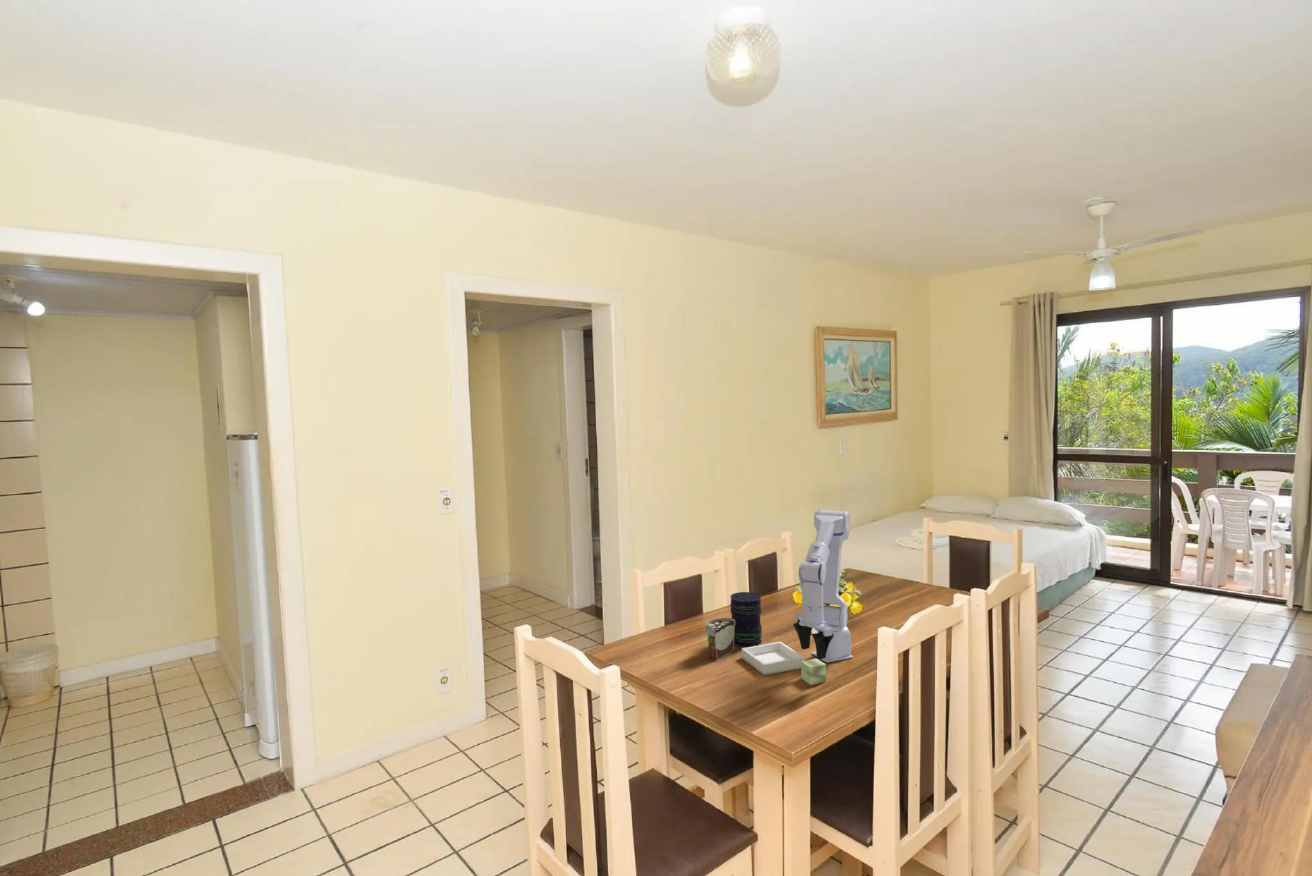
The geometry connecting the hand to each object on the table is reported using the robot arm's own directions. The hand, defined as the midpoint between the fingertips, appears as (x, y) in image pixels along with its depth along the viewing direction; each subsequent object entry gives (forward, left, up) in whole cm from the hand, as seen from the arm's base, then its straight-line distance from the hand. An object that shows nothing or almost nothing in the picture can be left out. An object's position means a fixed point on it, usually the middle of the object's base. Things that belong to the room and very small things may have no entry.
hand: (813, 653), depth 180 cm
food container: (+16, -28, -8) cm, 33 cm away
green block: (0, 0, -8) cm, 8 cm away
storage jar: (+3, -33, -8) cm, 34 cm away
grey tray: (+4, -15, -8) cm, 17 cm away
